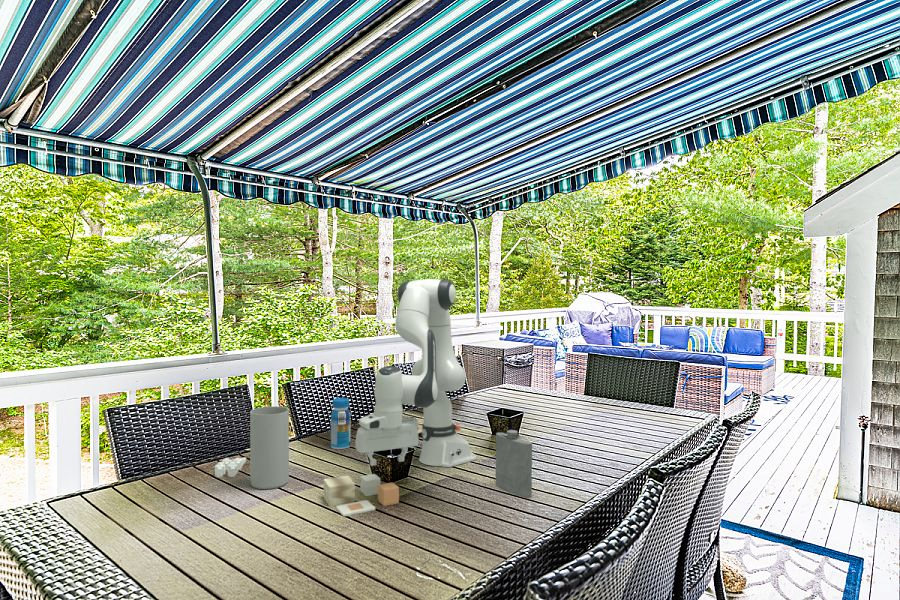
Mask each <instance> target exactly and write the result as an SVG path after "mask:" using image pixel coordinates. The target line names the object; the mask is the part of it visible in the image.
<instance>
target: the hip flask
mask: <svg viewBox="0 0 900 600" xmlns="http://www.w3.org/2000/svg"><path fill="white" fill-rule="evenodd" d="M532 478H533V442H532V441H530V440H525V439H522V438H518V430H514V429H508V430H506V433H505V432H496V433H495V486H497V487H499V488H500V489H502V490H504V491H506V492H509V493H511V494H514V495H516V496H519V497H521V498H525V499H527V498H528V499H529V498H532V496H533V495H532V490H533V489H532V487H533V486H532V483H533V482H532V481H533V479H532Z"/></svg>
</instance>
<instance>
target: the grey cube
mask: <svg viewBox="0 0 900 600" xmlns="http://www.w3.org/2000/svg"><path fill="white" fill-rule="evenodd" d="M359 483H360V489H359V490H360V493H362V494H363V496H365V497H368V496H369V497H370V496H374V495H378V485H381V477H379V476H378V475H377V474H376V473H372V474H371V473H370V474H368V475H366V474H365V475H361V476H360V481H359Z"/></svg>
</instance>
